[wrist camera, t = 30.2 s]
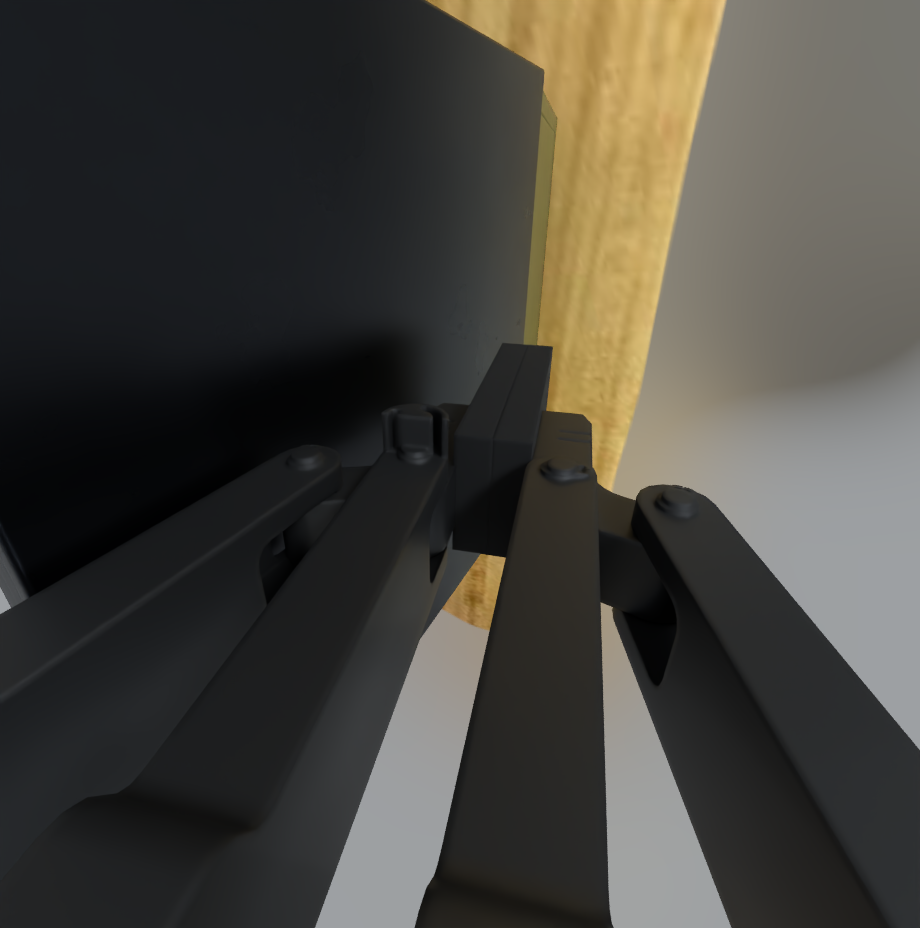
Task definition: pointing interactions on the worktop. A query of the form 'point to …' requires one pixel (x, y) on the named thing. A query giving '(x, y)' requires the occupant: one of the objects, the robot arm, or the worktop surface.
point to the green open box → (540, 220)
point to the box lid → (241, 248)
